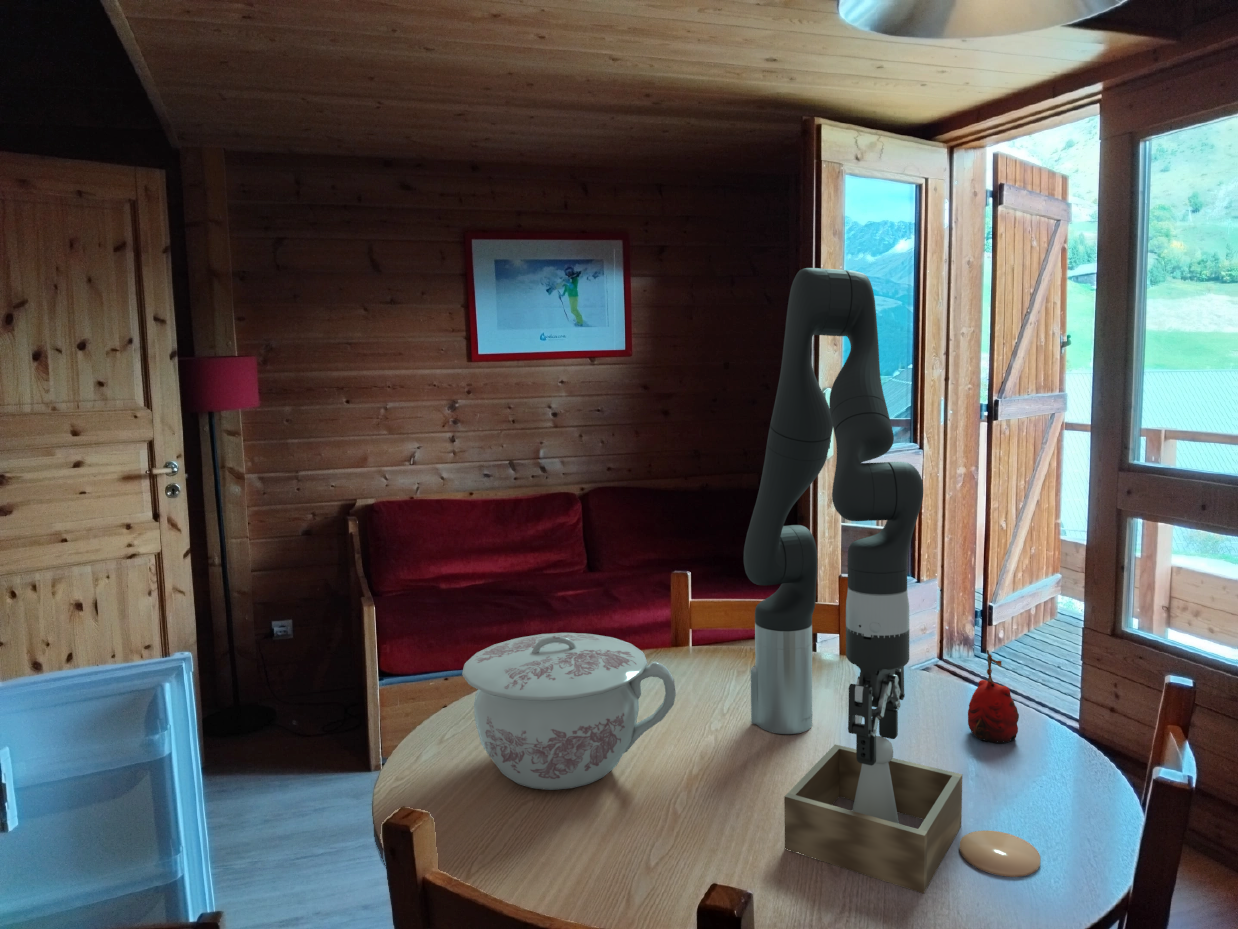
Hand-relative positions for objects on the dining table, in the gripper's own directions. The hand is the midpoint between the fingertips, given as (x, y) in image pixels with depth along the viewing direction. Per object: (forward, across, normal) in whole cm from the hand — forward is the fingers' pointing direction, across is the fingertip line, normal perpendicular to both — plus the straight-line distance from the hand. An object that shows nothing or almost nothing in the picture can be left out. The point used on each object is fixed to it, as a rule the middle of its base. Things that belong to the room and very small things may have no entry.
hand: (877, 749), depth 110 cm
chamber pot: (+12, +6, -46) cm, 48 cm away
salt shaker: (+12, 0, 0) cm, 12 cm away
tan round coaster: (+12, -4, +14) cm, 19 cm away
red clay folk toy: (+12, -38, +6) cm, 40 cm away
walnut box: (+12, 0, 0) cm, 12 cm away
